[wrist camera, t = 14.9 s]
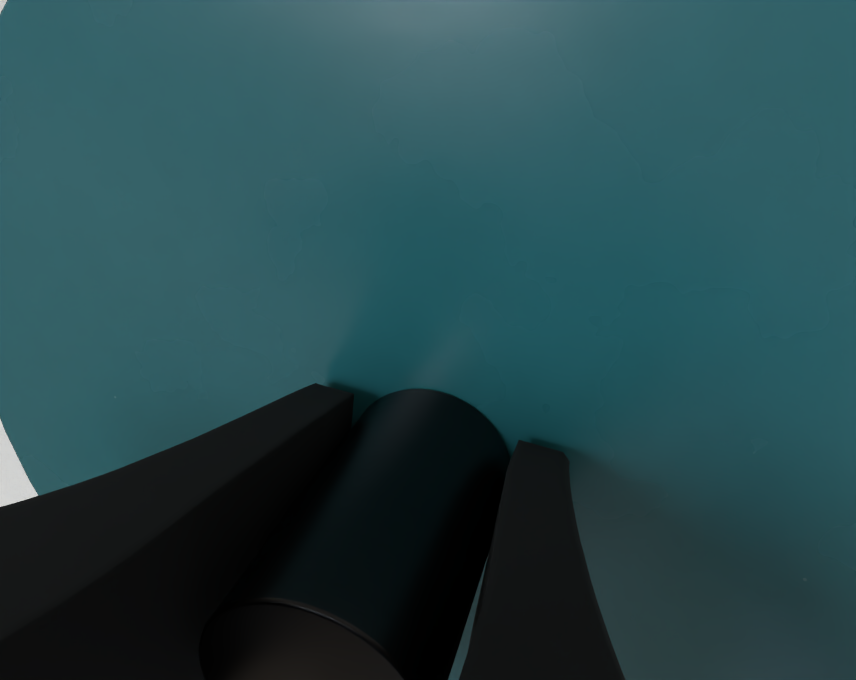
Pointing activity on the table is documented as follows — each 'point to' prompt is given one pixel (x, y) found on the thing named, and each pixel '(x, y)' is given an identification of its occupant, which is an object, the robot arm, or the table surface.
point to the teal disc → (457, 302)
